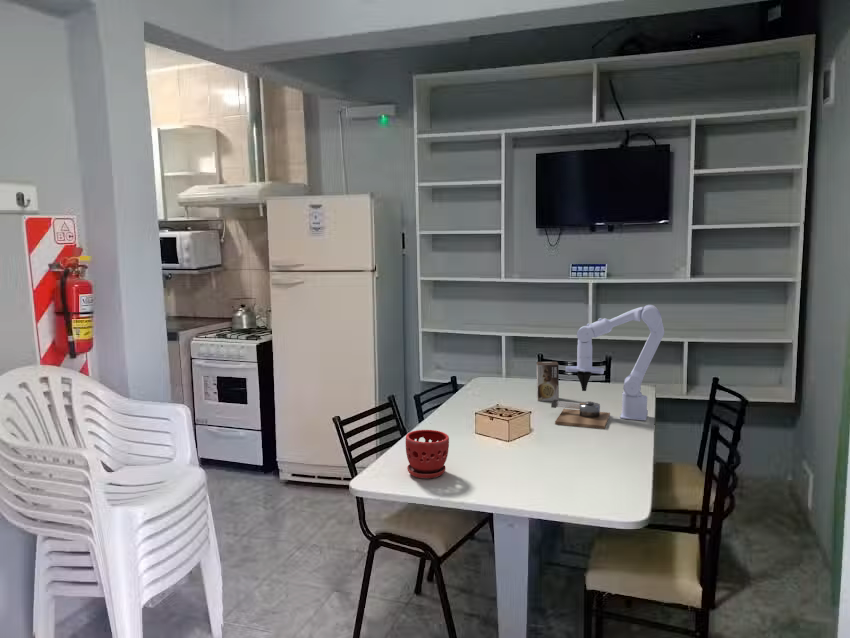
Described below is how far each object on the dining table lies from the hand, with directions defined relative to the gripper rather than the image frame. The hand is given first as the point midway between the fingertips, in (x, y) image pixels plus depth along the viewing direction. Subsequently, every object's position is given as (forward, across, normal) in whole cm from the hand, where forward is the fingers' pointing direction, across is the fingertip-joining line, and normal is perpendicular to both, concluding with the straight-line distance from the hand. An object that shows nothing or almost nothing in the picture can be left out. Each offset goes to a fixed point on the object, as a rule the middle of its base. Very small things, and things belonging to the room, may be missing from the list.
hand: (584, 390), depth 247 cm
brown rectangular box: (+10, -18, +17) cm, 27 cm away
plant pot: (+10, -35, -79) cm, 87 cm away
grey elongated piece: (+8, -2, -6) cm, 10 cm away
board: (+9, +1, -9) cm, 13 cm away
